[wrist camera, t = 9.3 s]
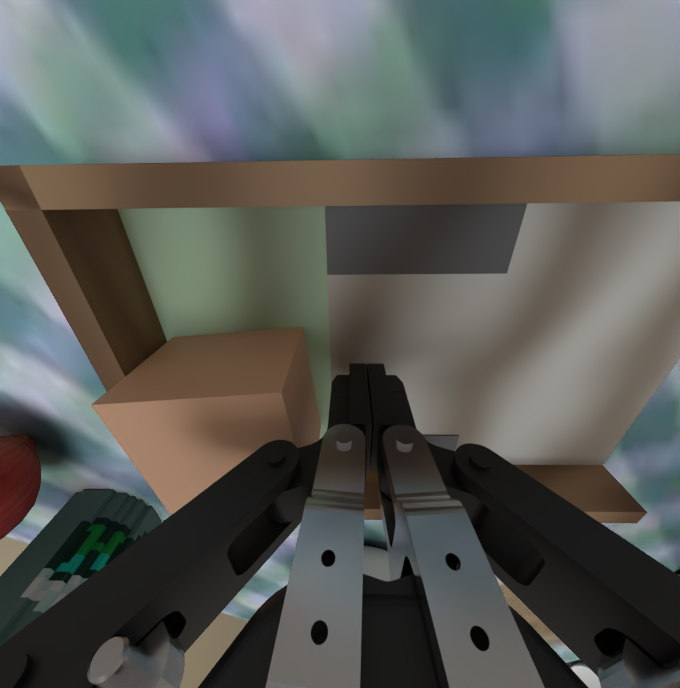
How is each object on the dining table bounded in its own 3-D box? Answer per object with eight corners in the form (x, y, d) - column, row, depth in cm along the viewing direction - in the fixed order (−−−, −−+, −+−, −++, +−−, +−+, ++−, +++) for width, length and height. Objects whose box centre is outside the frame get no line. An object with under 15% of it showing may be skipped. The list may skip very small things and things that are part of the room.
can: (170, 535, 21) (-104, 1066, 8) (96, 534, 22) (-285, 1053, 9) (141, 490, 18) (-352, 1203, 5) (56, 489, 19) (-622, 1179, 6)
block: (302, 326, 12) (281, 392, 8) (320, 424, 15) (311, 508, 11) (173, 337, 12) (91, 405, 8) (215, 430, 15) (170, 513, 11)
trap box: (807, 162, 9) (1003, 148, 6) (591, 471, 17) (636, 523, 14) (82, 174, 9) (-20, 166, 7) (202, 467, 17) (177, 517, 15)
